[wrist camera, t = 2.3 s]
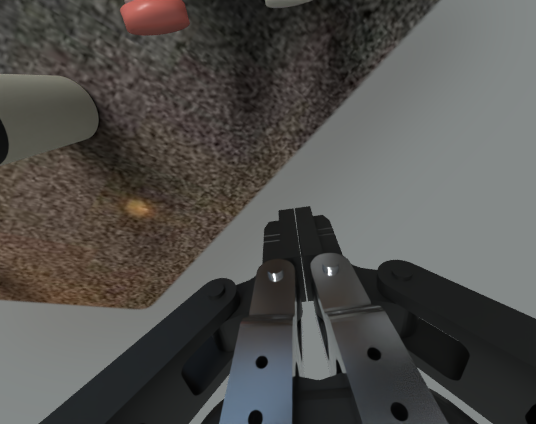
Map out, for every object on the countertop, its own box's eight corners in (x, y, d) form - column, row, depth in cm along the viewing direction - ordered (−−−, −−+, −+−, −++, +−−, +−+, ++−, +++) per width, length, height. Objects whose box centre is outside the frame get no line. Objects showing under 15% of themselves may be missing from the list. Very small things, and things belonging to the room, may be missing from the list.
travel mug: (61, 61, 30) (-173, 37, 14) (112, 118, 33) (-33, 151, 17) (24, 100, 32) (-215, 117, 16) (76, 151, 35) (-84, 206, 19)
